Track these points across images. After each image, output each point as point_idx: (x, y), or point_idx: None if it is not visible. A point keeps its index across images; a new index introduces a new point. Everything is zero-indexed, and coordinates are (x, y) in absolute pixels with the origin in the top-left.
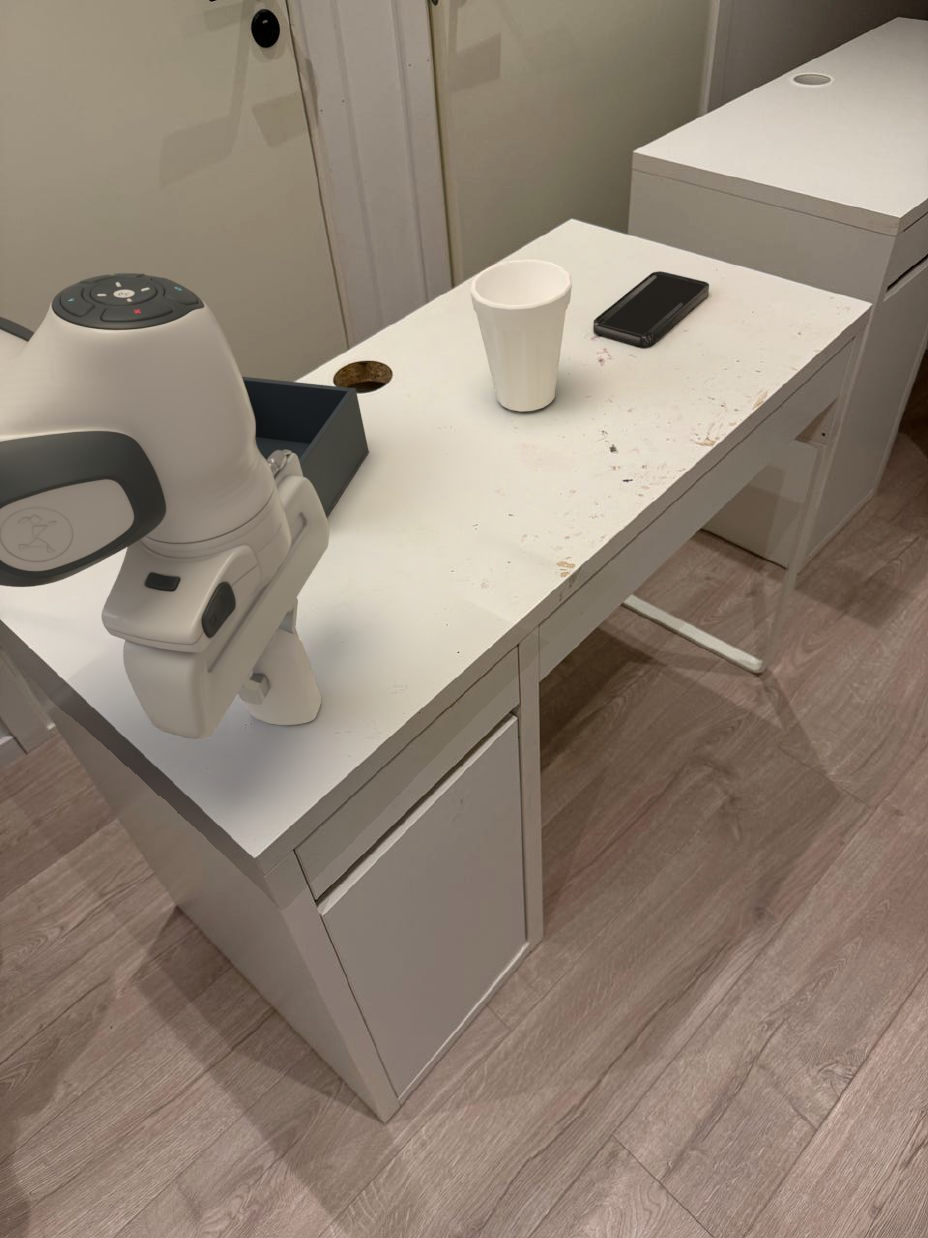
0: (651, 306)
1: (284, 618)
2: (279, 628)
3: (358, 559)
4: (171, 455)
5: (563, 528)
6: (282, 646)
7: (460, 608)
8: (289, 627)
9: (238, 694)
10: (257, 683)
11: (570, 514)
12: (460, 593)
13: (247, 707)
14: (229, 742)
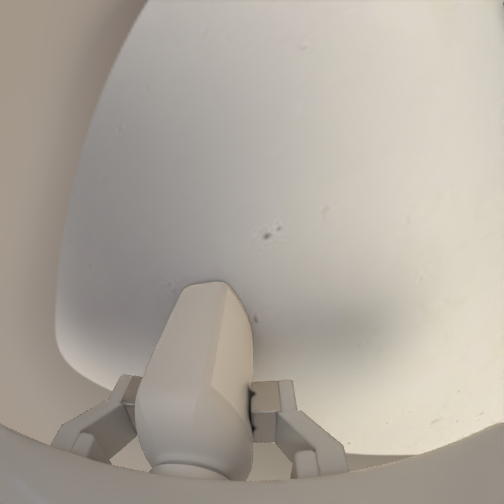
0: None
1: (293, 451)
2: (242, 479)
3: (493, 289)
4: None
5: (480, 428)
6: None
7: (408, 421)
8: (281, 446)
9: (117, 383)
10: (126, 443)
11: (491, 423)
12: (428, 412)
13: (177, 300)
14: (133, 275)
